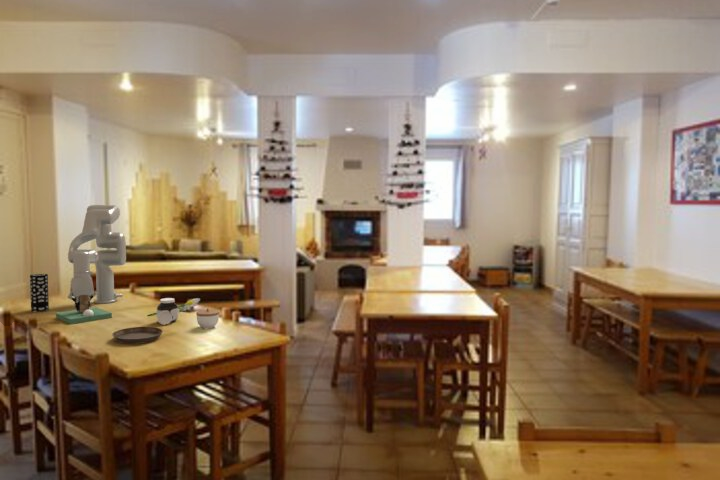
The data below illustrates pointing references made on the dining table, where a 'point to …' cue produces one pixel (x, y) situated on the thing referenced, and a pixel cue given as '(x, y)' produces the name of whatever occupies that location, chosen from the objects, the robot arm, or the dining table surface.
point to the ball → (88, 312)
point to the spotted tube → (39, 292)
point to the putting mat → (78, 317)
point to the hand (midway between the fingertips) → (82, 308)
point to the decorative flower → (185, 305)
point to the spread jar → (167, 311)
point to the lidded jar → (207, 318)
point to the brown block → (83, 303)
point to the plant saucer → (137, 335)
